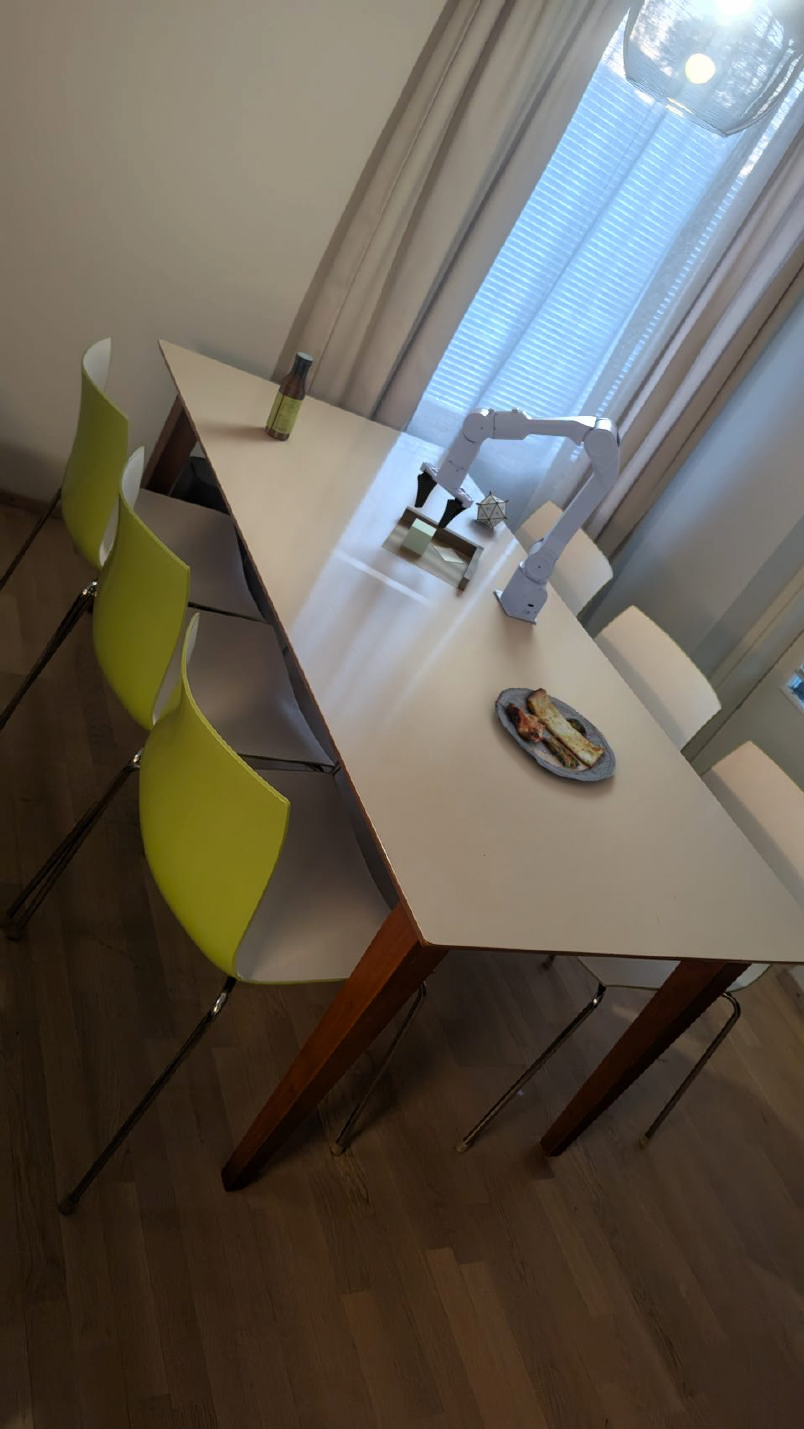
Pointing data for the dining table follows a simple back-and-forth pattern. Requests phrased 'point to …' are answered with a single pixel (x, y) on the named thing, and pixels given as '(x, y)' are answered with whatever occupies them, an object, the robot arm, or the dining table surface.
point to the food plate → (555, 733)
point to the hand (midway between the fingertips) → (429, 517)
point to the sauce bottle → (289, 399)
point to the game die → (491, 510)
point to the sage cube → (419, 536)
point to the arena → (437, 550)
